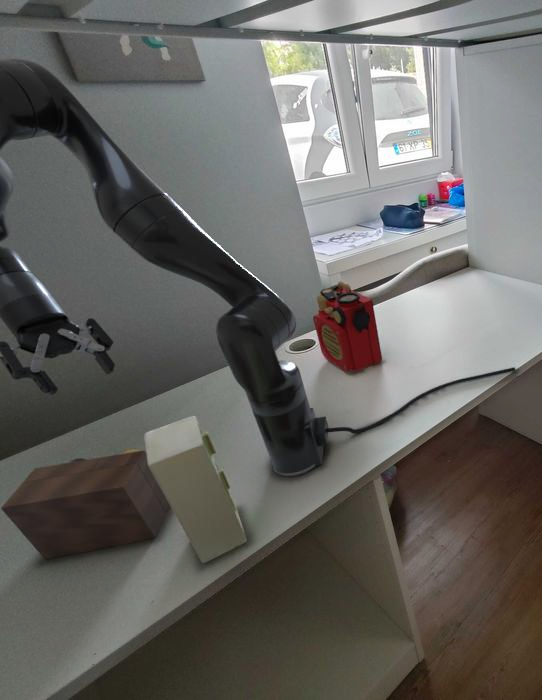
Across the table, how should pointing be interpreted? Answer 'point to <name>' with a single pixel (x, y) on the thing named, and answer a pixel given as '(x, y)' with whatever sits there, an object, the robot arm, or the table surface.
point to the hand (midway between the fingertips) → (84, 381)
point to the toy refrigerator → (195, 487)
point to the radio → (347, 328)
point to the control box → (88, 505)
